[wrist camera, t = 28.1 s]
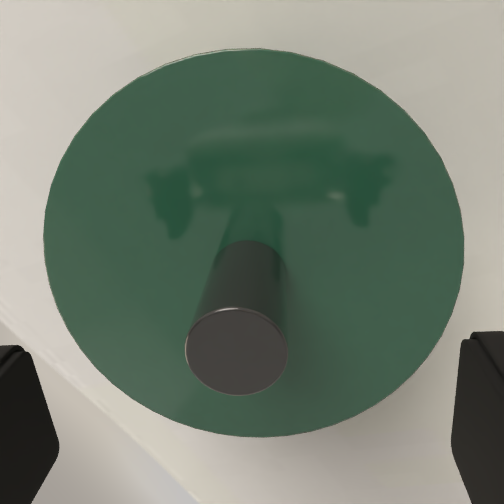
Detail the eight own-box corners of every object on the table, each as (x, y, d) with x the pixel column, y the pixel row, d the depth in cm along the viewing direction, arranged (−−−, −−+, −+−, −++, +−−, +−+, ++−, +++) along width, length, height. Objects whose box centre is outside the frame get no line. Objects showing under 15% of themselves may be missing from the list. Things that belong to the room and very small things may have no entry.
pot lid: (10, 70, 16) (-139, 75, 10) (471, 27, 15) (589, 6, 9) (100, 423, 22) (35, 551, 16) (440, 414, 20) (501, 552, 15)
